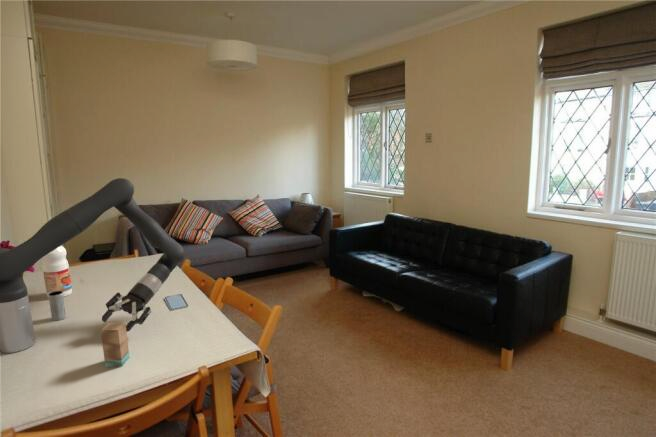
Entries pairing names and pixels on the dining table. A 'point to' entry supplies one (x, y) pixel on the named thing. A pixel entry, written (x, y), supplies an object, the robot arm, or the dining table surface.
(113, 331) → the brown tall block
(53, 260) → the white strawberry milk bottle
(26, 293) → the robot arm
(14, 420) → the dining table surface
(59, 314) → the planter
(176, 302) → the smartphone
